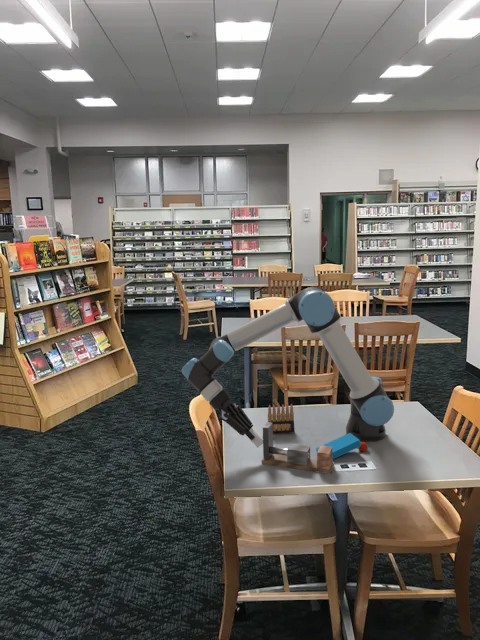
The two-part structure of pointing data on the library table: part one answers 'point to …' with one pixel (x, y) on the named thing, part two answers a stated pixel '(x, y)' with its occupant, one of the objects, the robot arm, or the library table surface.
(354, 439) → the blue block
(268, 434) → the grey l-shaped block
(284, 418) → the ammunition clip
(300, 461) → the wooden bar with block
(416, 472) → the library table surface
